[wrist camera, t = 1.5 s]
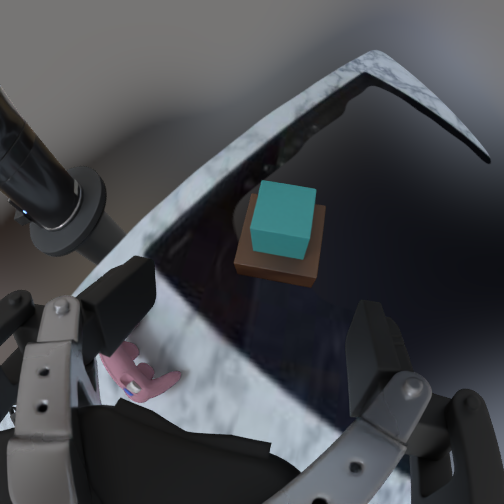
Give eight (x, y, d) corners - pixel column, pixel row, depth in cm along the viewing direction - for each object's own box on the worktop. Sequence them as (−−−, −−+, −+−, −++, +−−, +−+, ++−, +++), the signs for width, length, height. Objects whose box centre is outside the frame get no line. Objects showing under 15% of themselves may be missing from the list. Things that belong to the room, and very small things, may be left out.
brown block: (237, 273, 34) (233, 262, 30) (253, 209, 37) (251, 193, 34) (311, 287, 33) (316, 278, 29) (320, 221, 36) (326, 205, 32)
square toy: (253, 250, 31) (249, 228, 26) (263, 207, 33) (261, 179, 28) (303, 260, 30) (309, 239, 25) (309, 215, 32) (316, 189, 27)
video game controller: (124, 333, 34) (83, 342, 27) (139, 311, 32) (95, 318, 26) (169, 393, 30) (130, 414, 24) (187, 375, 29) (147, 396, 23)
